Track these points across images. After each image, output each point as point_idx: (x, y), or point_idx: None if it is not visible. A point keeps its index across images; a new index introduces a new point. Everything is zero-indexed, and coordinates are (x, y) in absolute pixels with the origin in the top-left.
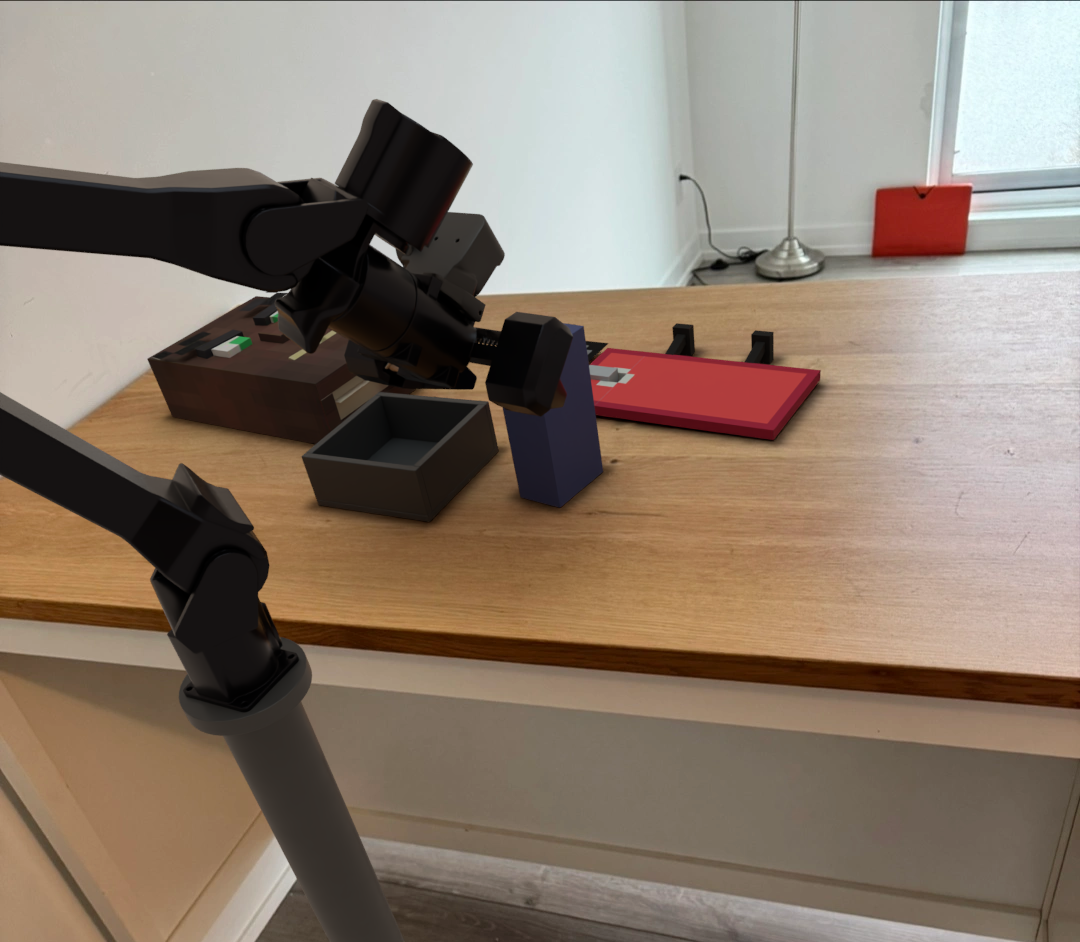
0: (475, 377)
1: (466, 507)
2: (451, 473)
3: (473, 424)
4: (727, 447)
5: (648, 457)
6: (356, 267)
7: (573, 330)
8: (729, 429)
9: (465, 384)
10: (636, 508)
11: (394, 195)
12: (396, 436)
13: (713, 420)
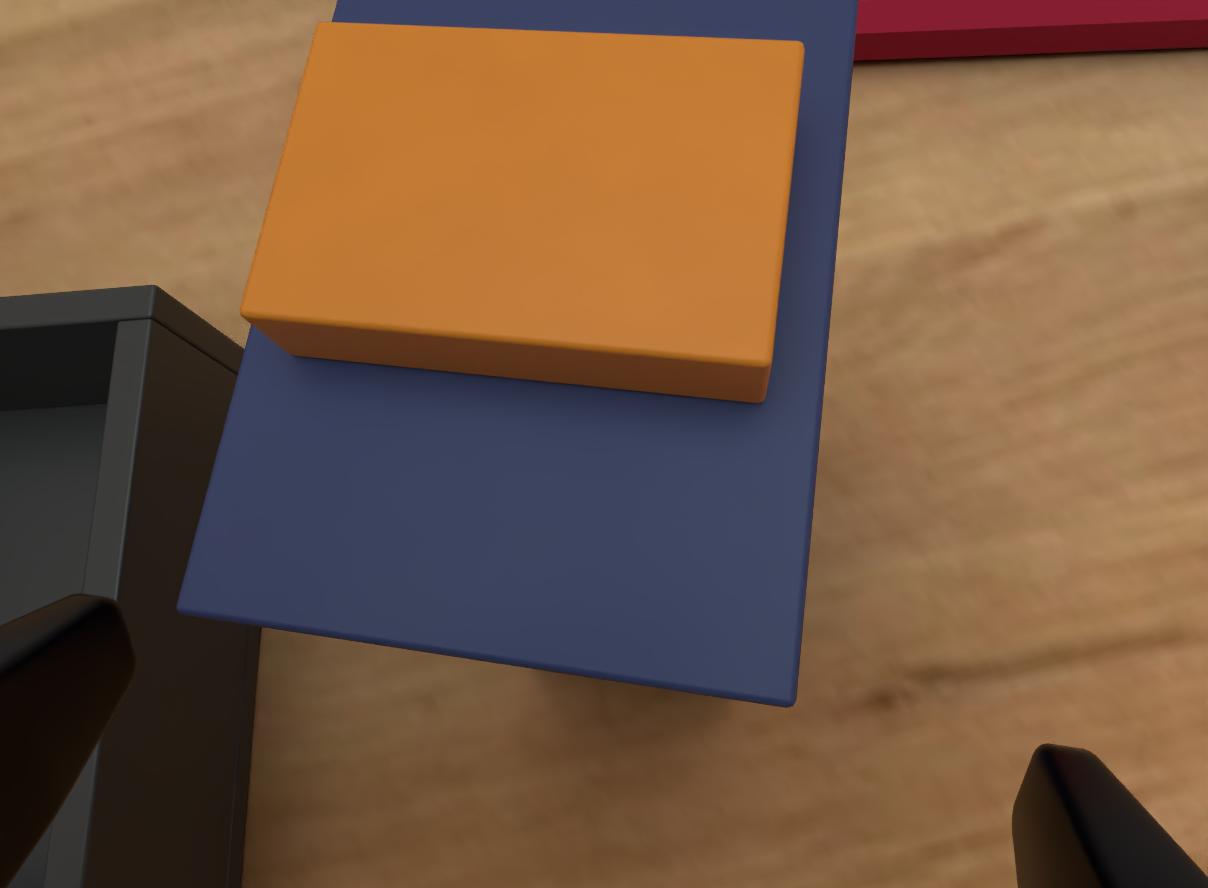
0: (105, 615)
1: (340, 791)
2: (201, 716)
3: (160, 450)
4: (1150, 125)
5: (888, 263)
6: None
7: (823, 4)
8: (1124, 37)
9: (69, 752)
10: (1053, 612)
11: None
12: None
13: (1059, 16)
